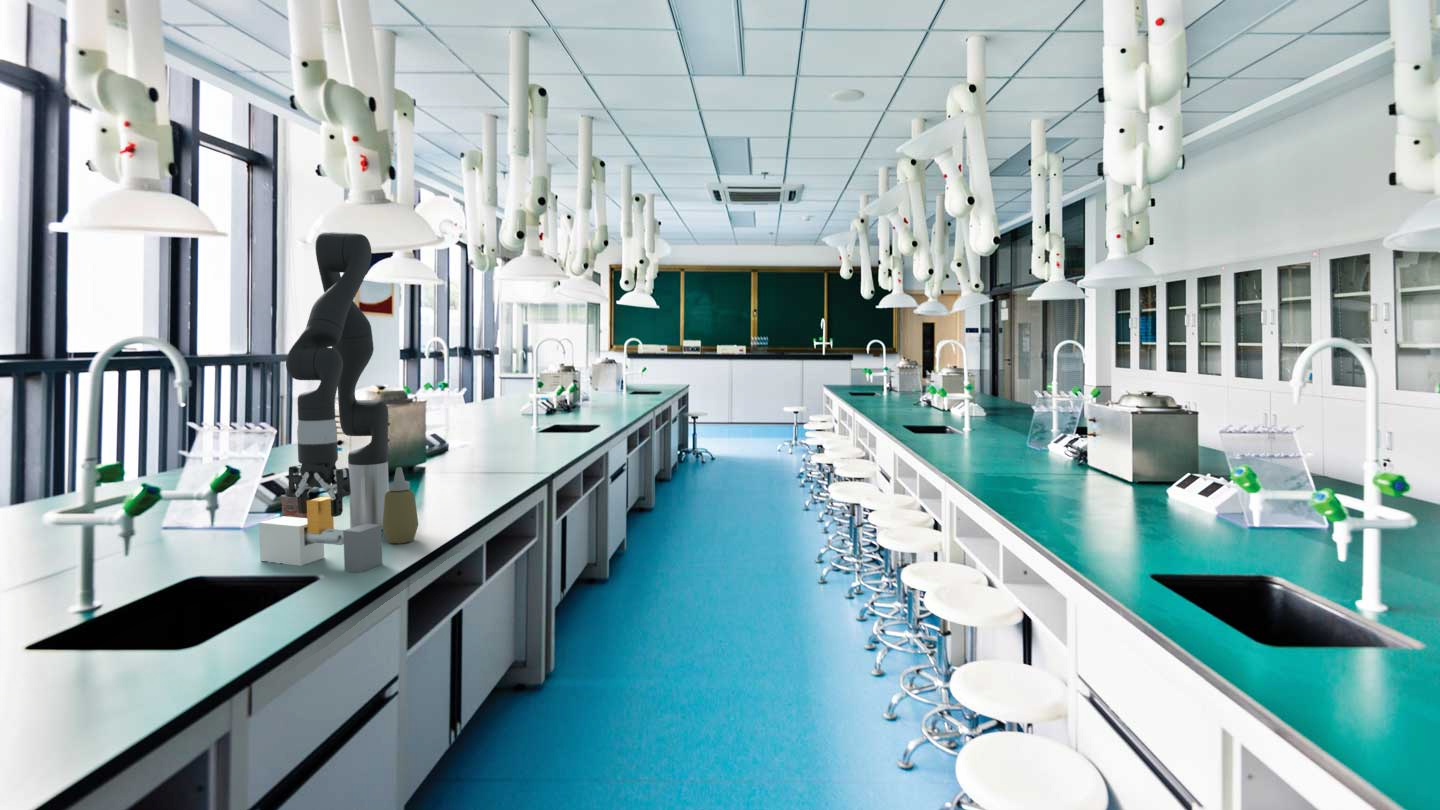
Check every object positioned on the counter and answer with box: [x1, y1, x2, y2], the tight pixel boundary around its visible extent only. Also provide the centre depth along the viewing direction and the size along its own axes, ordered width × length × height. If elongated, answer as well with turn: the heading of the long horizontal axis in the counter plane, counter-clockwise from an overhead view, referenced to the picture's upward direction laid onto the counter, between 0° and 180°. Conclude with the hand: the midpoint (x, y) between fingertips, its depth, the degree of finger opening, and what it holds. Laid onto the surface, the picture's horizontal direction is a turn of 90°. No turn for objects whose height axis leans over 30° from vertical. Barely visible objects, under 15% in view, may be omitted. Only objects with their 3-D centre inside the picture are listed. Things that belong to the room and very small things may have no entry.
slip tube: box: [304, 496, 345, 546], centre depth 161 cm, size 18×4×10 cm, turn 74°
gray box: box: [343, 524, 383, 573], centre depth 157 cm, size 4×6×9 cm, turn 164°
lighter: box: [280, 485, 307, 518], centre depth 194 cm, size 8×3×10 cm, turn 73°
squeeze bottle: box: [382, 466, 419, 545], centre depth 178 cm, size 8×8×18 cm
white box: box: [258, 516, 325, 567], centre depth 162 cm, size 11×6×9 cm, turn 74°
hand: (320, 514), depth 159 cm, fingers open, 8 cm apart
